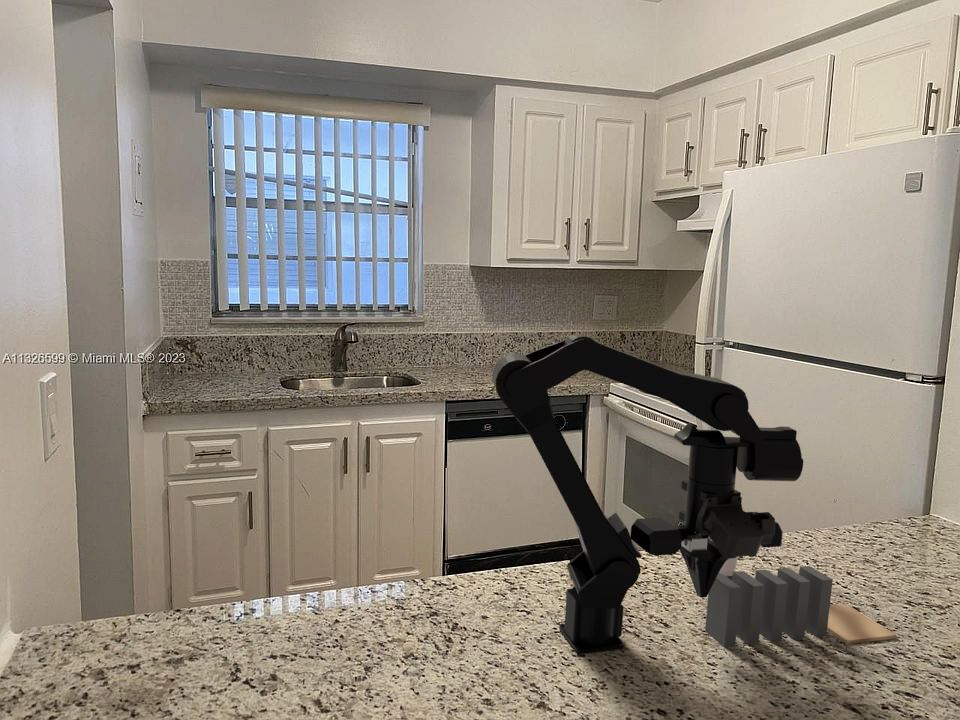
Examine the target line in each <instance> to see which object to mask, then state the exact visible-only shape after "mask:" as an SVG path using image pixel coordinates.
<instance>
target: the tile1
mask: <svg viewBox="0 0 960 720" xmlns="http://www.w3.org/2000/svg"><path fill="white" fill-rule="evenodd" d="M740 592H741V587H740V586H738V585H737V584H735V583H734V582H733V581H732V579H730V578H729V577H728V576H724V575H723V574H722V573H718V575H717V577H716V579H715V581H714V583H713V585H712V587H711V589H710V591H709V593H708V595H707V606H706V616H705V617H706V618H705V627H704V631H705V632H706V633H707V634H708V635H709V636H711V638H713V640H715V641H716V642H717V643H718V644H719V645H721V646H722V647H723V648H724V649H726V648H735V647H736V643H737V636H736V633H737V623H738V612H739V602H740Z"/></svg>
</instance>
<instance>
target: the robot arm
mask: <svg viewBox="0 0 960 720" xmlns="http://www.w3.org/2000/svg"><path fill="white" fill-rule="evenodd" d="M582 371H587V372H588V371H589V372H590V373H594V374H597V375H599V376H602V377H605V378H607V379H610V380H612V381H615V382H617V383H619V384H623V385H624V386H628V387H631V388H633V389H636V390H639V391H641V392H644V393H647V394H650V395H652V396H655V397H656V398H659V399H663V400H665V401H668V402H669V403H672V404H673V405H675V406H676V407H678V408H680V409H681V410H683V411H685V412H686V413H688V414H690V415H691V416H693V417H694V418H696V419H698V420H699V421H701V422H703V423H705V424H706V425H708V426H710V427H711V428H713V429H698V428H697V426H695V425H694V424H692V423H691V422H688V423H686V425H685V426H684V427H683V428H682V429H680V430H679V431H677V432H675V433H674V435H673V439H675V440H676V441H677V442H678V443H680V444H681V445H682V446H690V448H689V455H688V456H689V458H688V471H687V472H688V473H687V480H681V487H680V488H681V489H682V490H684V491H686V496H685V508H684V510H680V511H678V519H679V520H680V521H681V522H683V525H673V524H671V523H670V522H668V521H667V520H665V519H664V518H663V517H648V518H647V517H644V518H636V520H634V522H633V523H632V524H631V526H630V532H629V530H628V529H629V528H628V527H627V526H626V525H625V523H624V522H623V521H622V519H621V517H620V516H619V514H618V512H614V513H613V514H611V516H609V517H608V516H607V515H606V514H605V513H604V511H603V510H602V509H601V507H600V505H599V502H598V501H597V499H596V497H595V495H594V493H593V491H592V489H591V488H590V485H589V484H588V482H587V479H586V478H585V476H584V474H583V472H582V470H581V467H580V466H579V464H578V461H576V458H575V456H574V454H573V453H572V451H571V449H570V447H569V445H568V442H567V441H566V438H565V437H564V435H563V433H562V432H561V430H560V428H559V426H558V423H557V422H556V419H555V414H554V410H553V407H552V402H551V399H550V395H549V392H548V390H550V389H552V388H555V387H556V386H558V385H560V384H561V383H563V382H564V381H567V380H568V379H569V378H571V377H573V376H574V375H576V374H578V373H580V372H582ZM491 376H492V383H493V385H494V389H495V391H496V394H497V396H498V397H499V399H500V400H501V401H502V403H503V404H504V405H505V406H506V408H507V409H508V410H509V411H510V413H511V415H513V417H514V418H515V419H516V420H517V421H518V422H519V424H520V425H521V426H522V427H523V429H524V430H525V431H526V432H527V433H528V435H529V437H530V439H531V440H532V442H533V444H534V446H535V448H536V449H537V452H538V454H539V455H540V457H541V460H542V461H543V463H544V465H545V466H546V468H547V470H548V472H549V474H550V476H551V478H552V480H553V482H554V484H555V486H556V489H558V492H559V493H560V496H561V497H562V499H563V501H564V503H565V504H566V506H567V508H568V511H569V512H570V515H571V516H572V518H573V520H574V523H575V526H576V530H577V534H578V539H579V541H580V546H581V548H582V551H580V552H579V553H578V554H577V555H575V557H574V558H573V559H572V560H570V561H569V562H567V564H566V568H567V571H568V574H569V575H568V576H569V578H570V580H571V581H572V583H573V587H572V588H567V589H566V598H565V599H566V600H565V612H564V613H565V614H564V623H561V624H559V625H558V626H559V627H558V628H559V631H560V632H561V633H562V636H564V638H565V639H566V640H567V641H568V643H569V644H570V645H571V647H572V648H573V649H574V651H575V652H576V653H581V654H582V653H583V654H584V653H591V652H600V651H611V650H618V649H623V648H624V647H625V642H623V640H622V638H620V637H622V636H623V625H624V623H623V622H624V609H625V606H624V605H623V601H624V599H625V597H626V595H627V593H628V591H629V589H630V588H632V587H633V586H634V585H635V584H636V583H637V581H638V578H639V576H640V575H641V571H642V569H641V565H640V562H639V558H642V557H643V556H642V554H641V552H640V551H639V549H638V547H640V548H641V549H643V550H644V551H645V552H647V553H648V554H649V555H650V556H651V555H652V556H655V557H656V556H670V555H671V556H672V555H676V554H678V552H680V555H681V556H682V558H683V561H684V563H685V565H686V567H687V571H688V575H689V576H690V580H691V582H692V585H693V588H694V591H695V593H696V595H697V596H698V597H699V598H702V599H704V598H708V593H709V591H710V589H711V587H712V585H713V583H714V581H715V579H716V577H717V575H718V573H719V571H720V570H721V568H722V566H723V565H724V563H725V562H726V561H727V560H728V559H730V558H736V557H738V558H739V557H749V558H754V557H756V556H757V555H758V551H759V550H760V547H761V548H762V549H763V548H764V549H766V548H776V547H777V548H781V547H782V545H783V544H782V543H783V534H784V532H783V529H782V527H781V525H780V524H779V523H778V522H777V521H776V519H775V517H774V516H773V515H772V514H771V512H769V511H764V512H758V511H745V510H743V505H742V499H743V497H742V496H741V495H742V493H741V492H740V491H738V490H737V489H736V477H737V476H736V475H737V470H738V472H740V473H742V474H743V476H744V477H745V478H746V480H747V481H755V482H756V481H758V482H760V481H761V482H762V481H764V482H766V481H767V482H797V481H798V479H799V478H800V477H801V475H802V472H803V468H804V459H803V458H802V457H803V456H802V452H801V451H802V450H801V446H800V443H799V442H798V440H797V430H796V429H794V428H792V427H790V426H777V427H762V426H761V427H759V426H758V423H756V420H754V418H753V417H752V415H751V413H750V412H749V400H748V397H747V395H746V394H747V393H746V392H745V391H744V390H743V389H742V388H740V387H738V386H737V385H734V384H732V383H729V382H728V381H725V380H723V379H720V378H718V377H714V376H709V375H704V374H697V373H691V372H685V371H684V372H683V371H678V370H677V371H676V370H673V369H669V368H667V367H664V366H661V365H659V364H656V363H653V362H650V361H648V360H646V359H643V358H641V357H638V356H635V355H633V354H630V353H627V352H624V351H623V350H619V349H617V348H614V347H611V346H609V345H607V344H604V343H601V342H599V341H596V340H594V339H593V338H591V337H589V336H587V335H586V334H582V333H575V334H572V335H570V336H568V337H567V338H565V339H563V340H560V341H558V342H555V343H552V344H550V345H547V346H544V347H540V348H538V349H536V350H533V351H531V352H529V353H527V354H524V355H523V354H520V353H511V354H508V355H505V356H502V358H500V359H499V360H498V361H497V363H496V364H495V365H494V368H493V370H492V375H491ZM722 431H723V432H731V433H733V434H735V435H736V437H735V436H724V434H723V433H722ZM635 544H636V545H637V546H638V547H637V546H636V545H635Z"/></svg>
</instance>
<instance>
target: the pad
mask: <svg viewBox="0 0 960 720" xmlns="http://www.w3.org/2000/svg"><path fill="white" fill-rule="evenodd" d="M827 633H830V634H831V635H832V634H833V636H834V637H835V638H837V639H838V638H839V639H838V640H840V641H841V642H843V643H844V644H846V645H851V644H858V643H859V644H860V643H868V642H869V643H870V642H877V641H886V640H895V639H897V634H896V633H894V632H893V631H891V630H889V629H887V628H886V627H884V626H883V625H881V624H880V623H878V622H876V621H875V620H873V619H871V618H869V617H868V616H866V615H865V614H863V613H861V612H860V611H858V610H857V609H855V608H853V607H852V606H850V605H849V604H847V603H845V604H835V605H830V608H829V617H828V626H827Z"/></svg>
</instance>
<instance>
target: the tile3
mask: <svg viewBox="0 0 960 720" xmlns="http://www.w3.org/2000/svg"><path fill="white" fill-rule="evenodd" d="M754 579H756V580H757V581H759V582H760V583H762V584H763V585H765V586H764V596H763V606H762V616H761V626H760V636H762V637H764V638H765V639H766V640H767V641H769V643H772V644H773V643H780V642H782V641H783V633H784V632H783V624H784V614H785V605H786V595H787V586H788V583H786V582H785V581H783V580H782V579H780V578H779V577H777V575H776V574H774V573H772V571H769V570H768V569H766V568H765V569H756V570H755V575H754Z"/></svg>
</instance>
